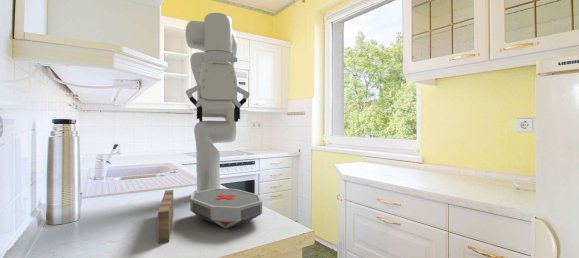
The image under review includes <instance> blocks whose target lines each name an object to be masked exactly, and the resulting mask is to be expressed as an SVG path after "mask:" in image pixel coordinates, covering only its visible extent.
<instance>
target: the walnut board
mask: <svg viewBox="0 0 579 258" xmlns="http://www.w3.org/2000/svg"><path fill="white" fill-rule="evenodd" d="M157 216H158V217H157V218H158V222H157V223H158V225H157V226H158V244H163V243H170V240H171V239H170V238H171V231H172V225H173V220H174V190H173V189H169V190H165V191H164V194H163V197H162V200H161V203H160V206H159V209H158V215H157Z"/></svg>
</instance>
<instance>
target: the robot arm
mask: <svg viewBox="0 0 579 258" xmlns="http://www.w3.org/2000/svg"><path fill="white" fill-rule="evenodd" d="M232 22H233V21H232V19H231V17H230V16H229V15H228V14H225V13H221V12H210V13H208V14H206V15H205V17H204V20H203V21H199V20H198V21H197V20H190V21H188V23H187V24H186V26H185V34H184V35H185V41H186V44H187V46H188V47H189V48H190V49H195V50H198V51H196V52H194V53H192V54H191V56H190V61H189V62H190V68H191V72H192V75H193V77H194V80H195V83H196V85H195V86H193V87H191V88H189V89H187V90H186V91H185V94H186V96H187V98H188V99H189V102H191V103H192V104H193V105H194V106H195V107H196V120H198V122H196V123H195V125H194V127H193V129H194V130H193V132H194V138H195V139H194V140H195V150H196V190H195V191H193V192H192V194H193V193H194V192H199V191H205V190H210V189H215V188H218V189H221V184H220V183H221V177H220V176H221V174H220V173H221V172H220V170H221V169H220V167H221V166H220V165H221V164H220V163H221V162H220V161H221V160H220V158H221V157H220V155H221V154H220V151H219V150H218V148H217V147H216V146H215V145H214V144H222V143H224V144H225V143H227V144H228V143H233V142H234V141H236V139H237V122H239V120H241V108H242V107H243V105H244V104H245V103H246V102H247V100H248V98H249V97H250V95H251V94H250V92H249V91H247V90H245V89H243V88H242V87H240V86H238V83H237V82H238V81H237V73H236V67H235V64H236V63H238V57H237V51H238V41H237V38H236V34H235V31H234V30H233V23H232ZM194 93H197V95H196V96H197V97H196V98H195V96H193V94H194ZM238 94H241V95H242V99H240V100H238ZM203 118H210V119H211V118H214V119H215V118H217V119H219V118H220V119H224V120H203Z"/></svg>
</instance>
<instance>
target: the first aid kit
mask: <svg viewBox="0 0 579 258" xmlns="http://www.w3.org/2000/svg"><path fill="white" fill-rule="evenodd" d="M193 192H194V191H193ZM193 192H192V194H191V196H190V198H189V208H190V209H189V211H190V212H191V213H193V214H195V215H196V216H198V217H199V218H200V219H202V220H203V221H208V222H211V223H213V224H216V225H218V226H220V227H222V228H223V229H229V228H231V227H235V226H237V225H240V224H243V223H246V222H250V221H252V220H254V219H256V218H257V217H259V216H261V215H262V214H263V200H262V198H261V196H260V194H257V193H252V192H250V191H249V192H248V191H246V190H245V191H244V190H241V189H237V188H220V189H218V188H215V189H210V190H205V191H199V192H194V193H193Z"/></svg>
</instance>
